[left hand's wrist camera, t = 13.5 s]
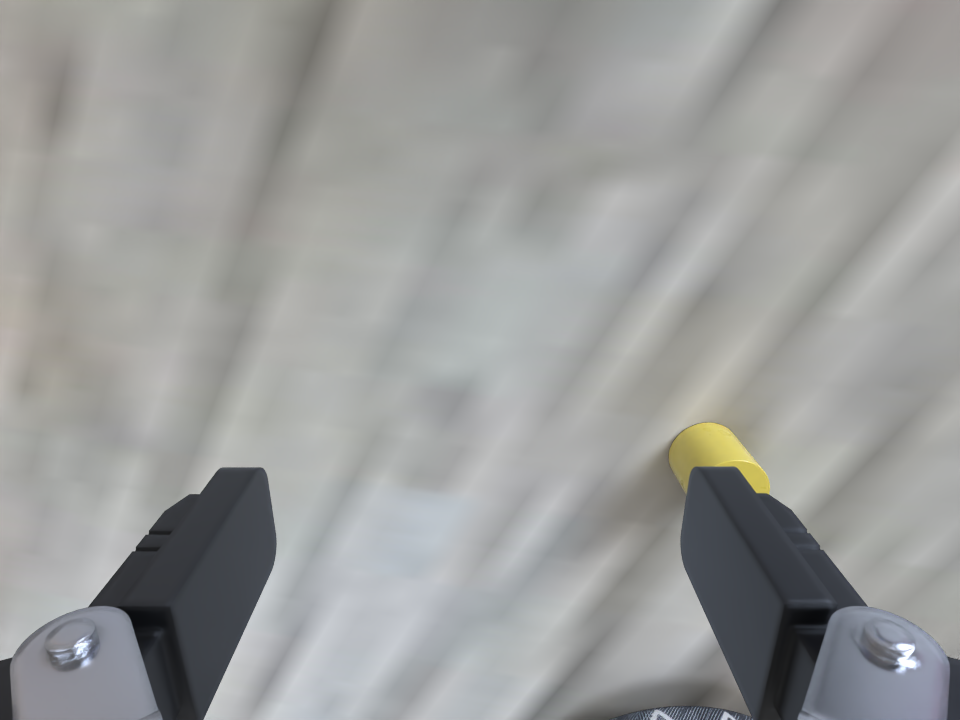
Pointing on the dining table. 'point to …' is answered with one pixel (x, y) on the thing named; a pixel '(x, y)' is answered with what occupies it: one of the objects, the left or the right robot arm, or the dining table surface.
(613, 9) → the dining table surface
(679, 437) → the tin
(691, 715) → the planter
